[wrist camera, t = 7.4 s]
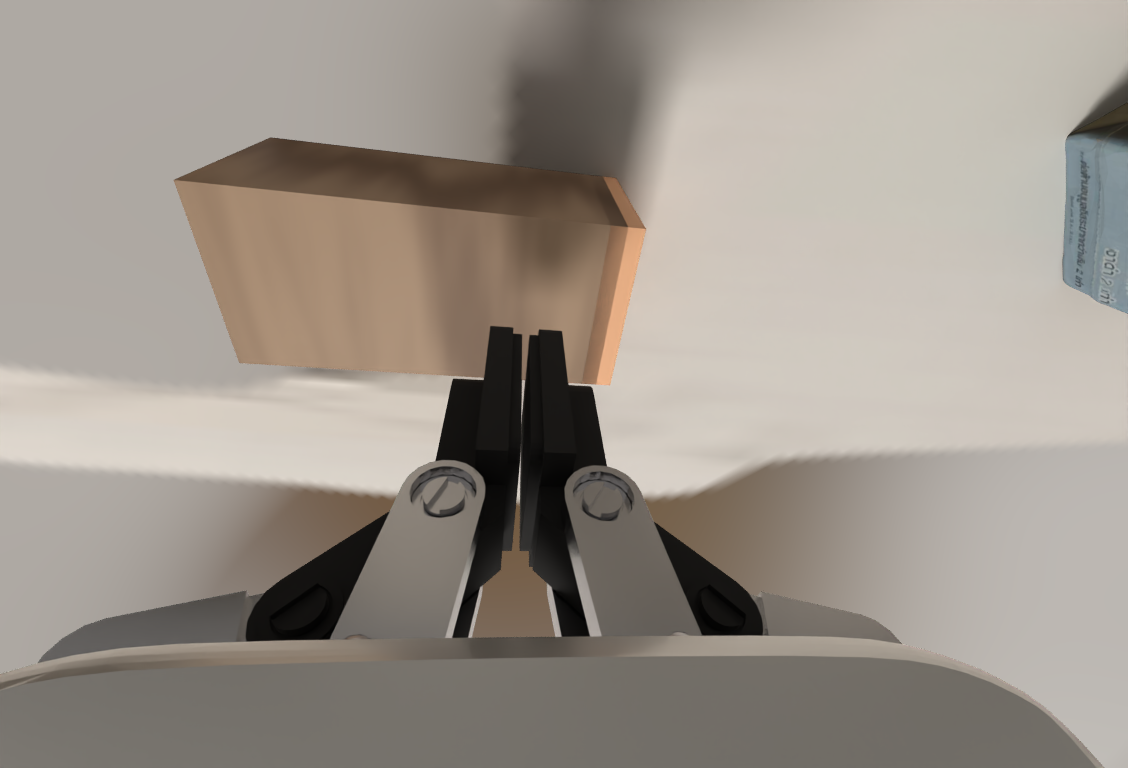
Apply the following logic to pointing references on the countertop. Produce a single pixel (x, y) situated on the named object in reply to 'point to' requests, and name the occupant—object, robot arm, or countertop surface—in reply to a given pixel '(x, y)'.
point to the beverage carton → (1098, 210)
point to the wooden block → (410, 258)
